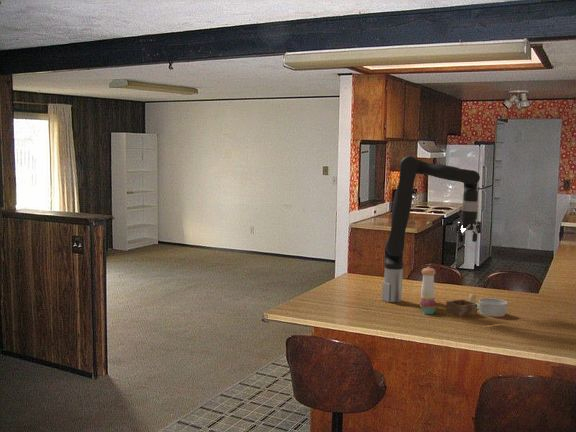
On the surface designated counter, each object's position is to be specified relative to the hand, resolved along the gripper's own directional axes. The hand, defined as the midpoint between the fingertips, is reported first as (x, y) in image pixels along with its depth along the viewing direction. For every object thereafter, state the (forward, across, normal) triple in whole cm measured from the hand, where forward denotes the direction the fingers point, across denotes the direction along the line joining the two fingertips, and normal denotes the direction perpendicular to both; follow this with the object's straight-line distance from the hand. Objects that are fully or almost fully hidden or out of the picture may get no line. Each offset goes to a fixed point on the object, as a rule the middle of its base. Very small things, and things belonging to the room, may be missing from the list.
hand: (467, 241), depth 308 cm
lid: (+32, -1, -8) cm, 33 cm away
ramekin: (+33, -1, -21) cm, 39 cm away
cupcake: (+33, -29, -9) cm, 45 cm away
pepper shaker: (+33, -17, +8) cm, 38 cm away
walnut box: (+32, -15, -16) cm, 39 cm away
